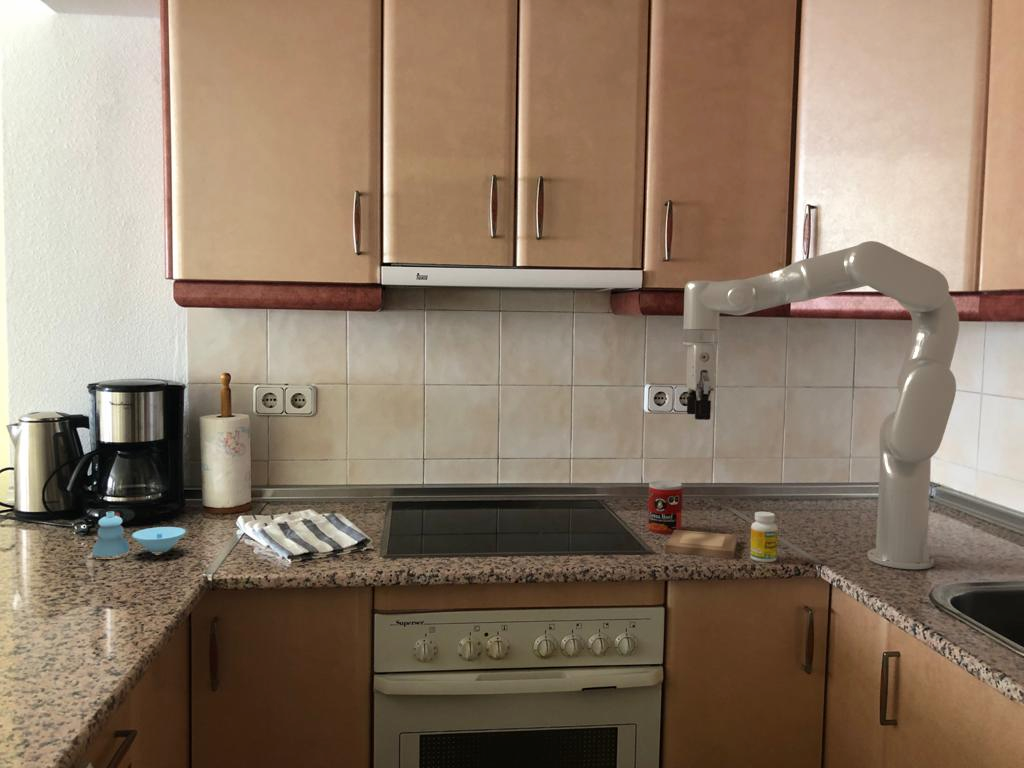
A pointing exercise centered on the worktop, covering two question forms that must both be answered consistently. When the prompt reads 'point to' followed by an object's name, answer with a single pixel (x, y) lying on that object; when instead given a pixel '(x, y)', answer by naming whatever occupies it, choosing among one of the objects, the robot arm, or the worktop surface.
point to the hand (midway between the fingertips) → (698, 416)
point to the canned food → (664, 506)
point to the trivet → (702, 543)
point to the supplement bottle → (764, 537)
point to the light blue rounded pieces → (149, 538)
